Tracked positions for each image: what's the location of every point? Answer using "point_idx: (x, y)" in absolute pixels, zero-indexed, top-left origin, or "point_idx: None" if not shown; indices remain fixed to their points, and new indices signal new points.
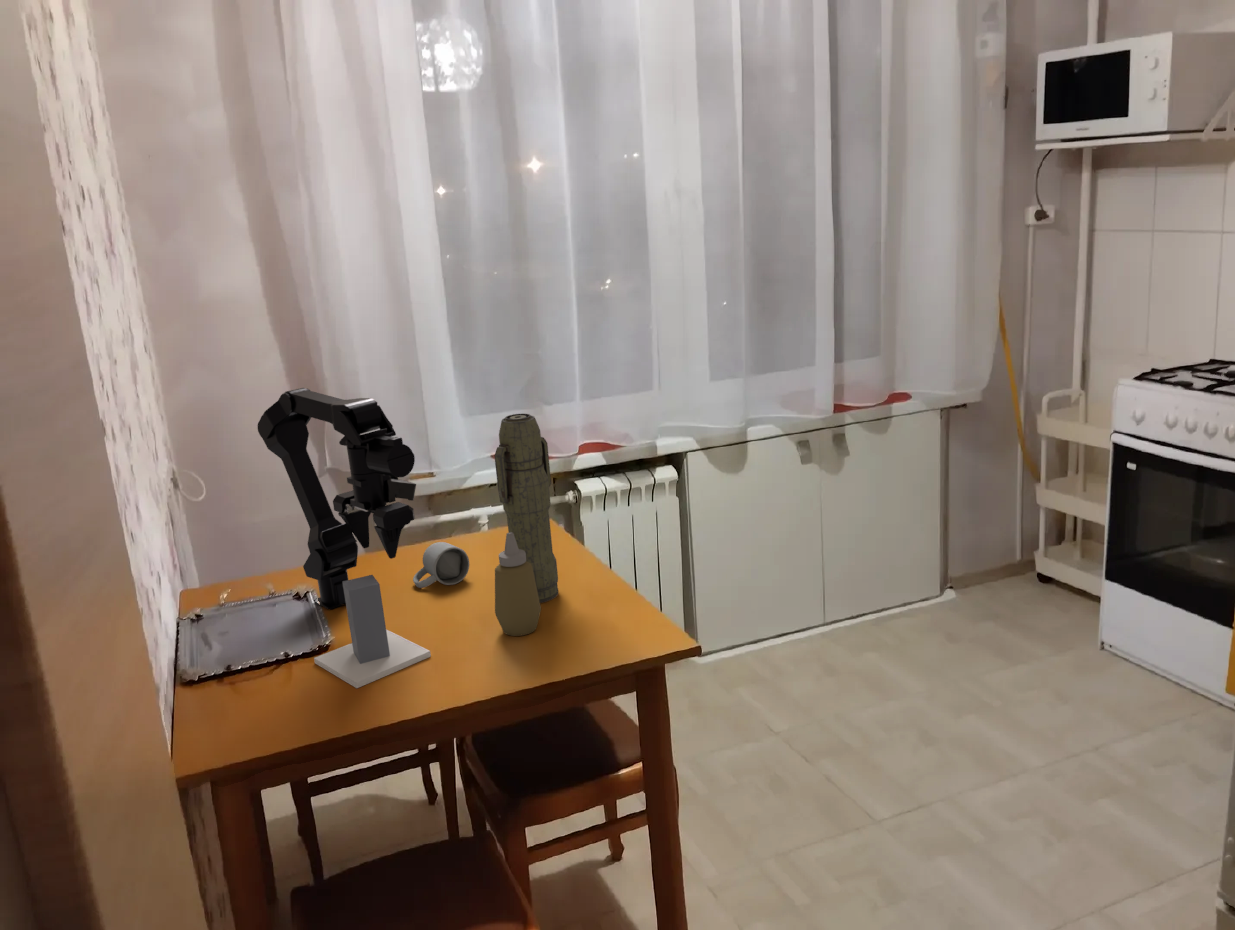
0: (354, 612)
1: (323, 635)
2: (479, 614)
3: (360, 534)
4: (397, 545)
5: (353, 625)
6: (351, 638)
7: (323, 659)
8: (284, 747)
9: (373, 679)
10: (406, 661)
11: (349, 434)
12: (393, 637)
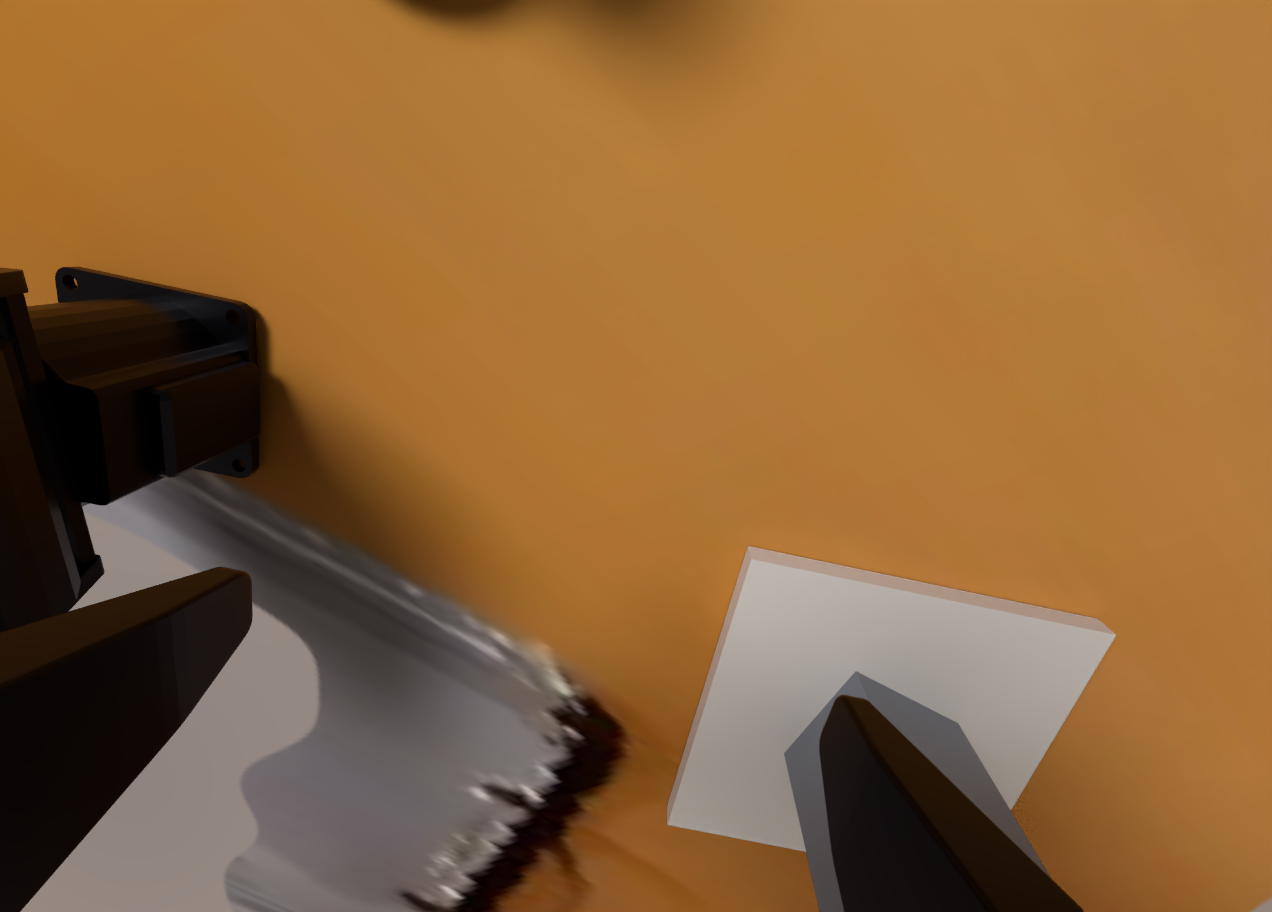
0: None
1: (486, 652)
2: (1105, 133)
3: (69, 798)
4: (991, 829)
5: None
6: (800, 813)
7: (711, 820)
8: None
9: None
10: (1058, 727)
11: None
12: (851, 605)
